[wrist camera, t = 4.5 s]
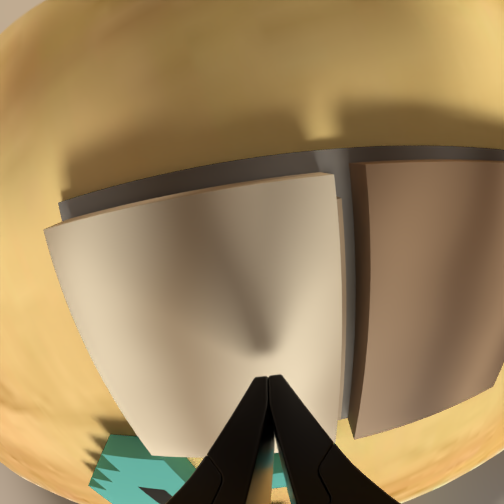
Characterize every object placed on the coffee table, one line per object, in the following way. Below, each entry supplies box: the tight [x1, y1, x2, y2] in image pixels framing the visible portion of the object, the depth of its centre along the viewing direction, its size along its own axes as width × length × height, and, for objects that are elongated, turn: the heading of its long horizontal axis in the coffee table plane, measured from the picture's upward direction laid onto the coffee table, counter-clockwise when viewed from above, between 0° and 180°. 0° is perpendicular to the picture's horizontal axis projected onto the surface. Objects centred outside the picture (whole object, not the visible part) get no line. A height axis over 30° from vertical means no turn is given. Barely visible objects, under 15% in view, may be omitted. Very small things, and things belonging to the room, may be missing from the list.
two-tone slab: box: [58, 146, 504, 439], centre depth 10 cm, size 20×12×2 cm, turn 99°
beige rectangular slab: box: [44, 172, 346, 457], centre depth 10 cm, size 9×12×2 cm
